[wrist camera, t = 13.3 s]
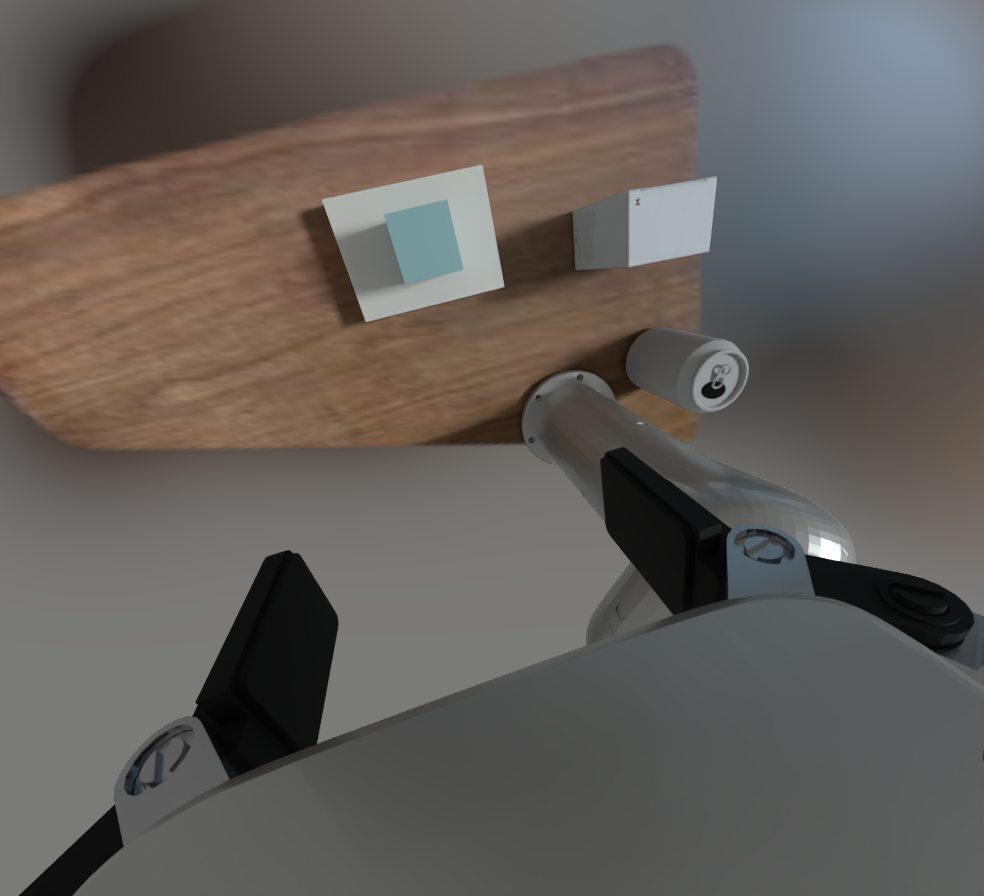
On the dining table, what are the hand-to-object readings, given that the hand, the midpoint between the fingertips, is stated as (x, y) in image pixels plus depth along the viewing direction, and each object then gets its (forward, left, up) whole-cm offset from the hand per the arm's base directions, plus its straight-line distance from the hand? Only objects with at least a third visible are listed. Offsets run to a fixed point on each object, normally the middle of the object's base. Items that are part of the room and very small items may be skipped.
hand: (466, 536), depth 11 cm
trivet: (+5, -8, -32) cm, 34 cm away
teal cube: (+5, -8, -30) cm, 31 cm away
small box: (-10, -21, -33) cm, 40 cm away
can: (-24, -15, -32) cm, 43 cm away
